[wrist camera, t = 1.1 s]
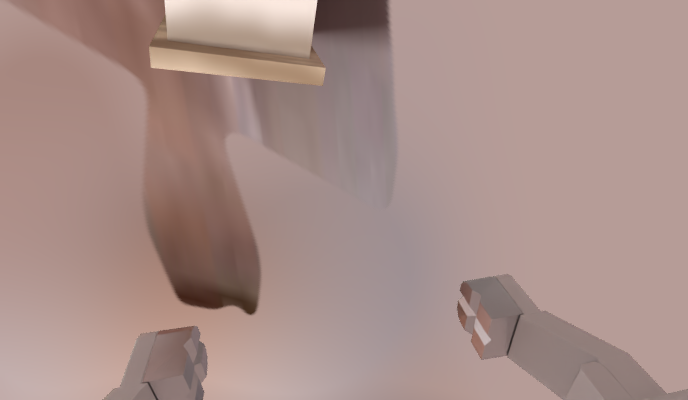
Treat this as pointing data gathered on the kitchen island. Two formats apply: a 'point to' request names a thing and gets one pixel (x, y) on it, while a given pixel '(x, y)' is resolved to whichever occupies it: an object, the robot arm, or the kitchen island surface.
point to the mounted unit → (239, 39)
